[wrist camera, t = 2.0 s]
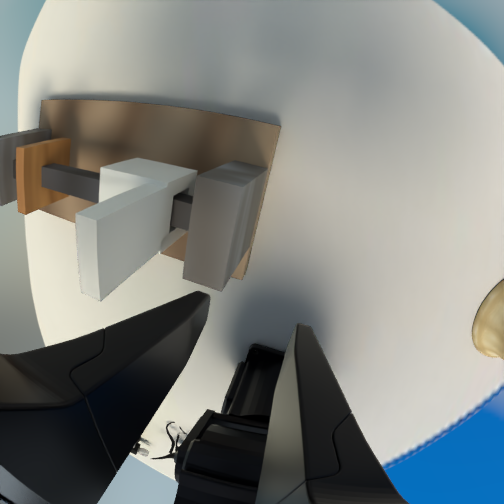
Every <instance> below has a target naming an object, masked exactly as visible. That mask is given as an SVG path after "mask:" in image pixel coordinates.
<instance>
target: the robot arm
mask: <svg viewBox="0 0 504 504" xmlns="http://www.w3.org/2000/svg"><path fill="white" fill-rule="evenodd" d="M209 305H210V295H209V294H206V293H203V292H200V291H195V292H193V293H190V294H188V295H186V296H183V297H181V298H178V299H176V300H173V301H171V302H168V303H166V304H163V305H161V306H158V307H156V308H153V309H151V310H148V311H146V312H143V313H141V314H138V315H136V316H133V317H131V318H128V319H126V320H123V321H121V322H118V323H116V324H113V325H111V326H108V327H106V328H105V329H100V330H98V331H95V332H92V333H90V334H87V335H84V336H81V337H78V338H75V339H72V340H69V341H65V342H62V343H59V344H55V345H51V346H47V347H44V348H40V349H36V350H32V351H28V352H24V353H20V354H11V355H8V354H0V504H97V503H98V501H99V500H100V498H101V497H102V495H103V494H104V492H105V491H106V489H107V487H108V486H109V484H110V483H111V481H112V480H113V478H114V477H115V475H116V474H117V472H118V470H119V469H120V467H121V466H122V464H123V463H124V461H125V459H126V458H127V456H128V455H129V453H130V452H131V450H132V449H133V447H134V446H135V444H136V442H137V441H138V439H139V438H140V436H141V435H142V433H143V432H144V430H145V428H146V427H147V425H148V424H149V422H150V421H151V419H152V417H153V416H154V414H155V413H156V411H157V410H158V408H159V407H160V405H161V403H162V402H163V400H164V399H165V397H166V396H167V394H168V392H169V391H170V389H171V388H172V386H173V385H174V383H175V382H176V380H177V378H178V377H179V375H180V374H181V372H182V371H183V369H184V367H185V366H186V364H187V362H188V360H189V358H190V356H191V354H192V352H193V349H194V347H195V345H196V343H197V341H198V339H199V336H200V334H201V332H202V330H203V328H204V326H205V323H206V321H207V317H208V311H209ZM255 350H257V351H255ZM351 412H352V411H351V409H350V407H349V405H348V403H347V400H346V398H345V396H344V394H343V392H342V390H341V388H340V386H339V384H338V382H337V379H336V377H335V375H334V373H333V371H332V369H331V367H330V365H329V363H328V361H327V359H326V357H325V355H324V353H323V350H322V348H321V346H320V344H319V342H318V340H317V338H316V336H315V334H314V332H313V330H312V328H311V327H310V326H307V325H304V324H301V323H297V324H296V326H295V328H294V331H293V333H292V336H291V338H290V341H289V343H288V346H287V349H286V353H284V352H281V351H277V350H274V349H271V348H267V347H264V346H261V345H258V344H253V345H251V346H250V349H249V352H248V355H247V358H246V361H245V363H244V362H240V363H239V364H238V366H237V369H236V371H235V374H234V376H233V379H232V381H231V384H230V386H229V389H228V391H227V394H226V396H225V399H224V403H223V406H222V410H221V413H217V412H215V411H213V410H209V409H207V410H206V412H205V413H204V415H203V416H201V417H200V419H199V420H198V422H197V423H196V424H195V426H194V427H193V429H192V430H191V431H190V433H189V434H188V436H187V437H186V438H185V440H184V441H183V443H182V444H181V445H180V447H179V449H178V451H177V452H176V453H175V455H174V460H175V462H176V465H175V479H176V481H177V482H178V483H179V485H178V489H177V494H176V498H175V501H174V504H409V503H408V502H407V501H406V500H405V499H403V498H402V496H401V495H400V494H399V493H398V491H397V490H396V488H395V487H394V485H393V484H392V482H391V480H390V479H389V477H388V475H387V474H386V472H385V471H384V469H383V467H382V466H381V464H380V463H379V461H378V459H377V458H376V456H375V455H374V453H373V451H372V450H371V448H370V446H369V444H368V443H367V441H366V439H365V437H364V435H363V433H362V431H361V429H360V427H359V425H358V423H357V421H356V419H355V417H354V415H353V414H352V413H351Z"/></svg>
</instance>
